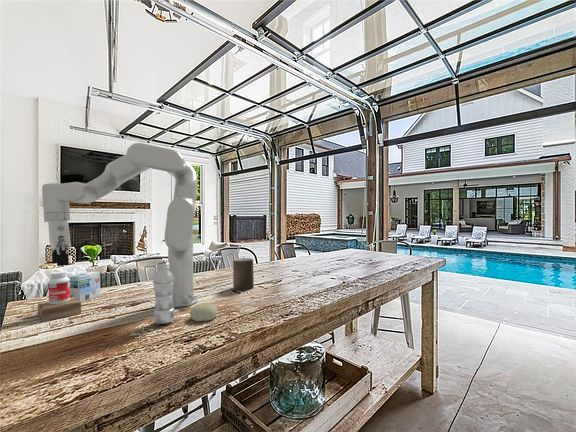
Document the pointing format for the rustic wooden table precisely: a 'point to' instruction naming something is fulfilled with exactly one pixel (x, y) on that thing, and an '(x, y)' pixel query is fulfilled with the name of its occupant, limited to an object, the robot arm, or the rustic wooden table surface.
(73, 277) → the light bulb box
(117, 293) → the rustic wooden table surface
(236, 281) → the pillar candle
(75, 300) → the walnut base
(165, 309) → the plastic bottle
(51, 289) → the pill bottle
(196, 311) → the sea urchin shell
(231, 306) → the rustic wooden table surface
